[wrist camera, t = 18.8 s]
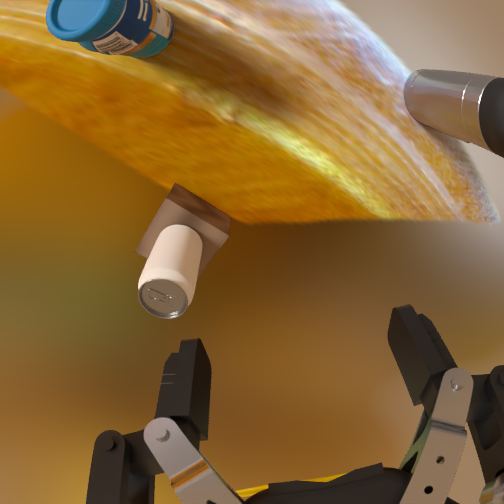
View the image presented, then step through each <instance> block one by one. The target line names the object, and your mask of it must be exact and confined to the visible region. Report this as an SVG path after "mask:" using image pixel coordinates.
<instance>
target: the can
mask: <svg viewBox="0 0 504 504" xmlns="http://www.w3.org/2000/svg"><path fill="white" fill-rule="evenodd" d="M201 254H202V240H201V238H200V236H199V235H198V234H197V232H196V231H194V230H193V229H192V228H190V227H188V226H185V225H171V226H168V227H166V228H165V229H164V230H163V231H162V232H161V233H160V235H159V236H158V238H157V240H156V243H155V245H154V247H153V249H152V251H151V253H150V256H149V258H148V260H147V262H146V265H145V267H144V269H143V272H142V274H141V277H140V279H139V283H138V288H139V292H138V298H139V301H140V304H141V305H142V306H143V308H144V309H145V310H146V311H147V312H149V313H150V314H152V315H154V316H157V317H160V318H166V319H170V318H175V317H178V316H180V315H182V314H183V313H184V312H185V311H186V309H187V307H188V305H189V304H190V303H191V301H192V298H193V295H194V291H195V285H196V280H197V275H198V270H199V264H200V259H201Z"/></svg>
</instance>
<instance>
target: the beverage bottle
mask: <svg viewBox="0 0 504 504" xmlns="http://www.w3.org/2000/svg"><path fill="white" fill-rule="evenodd" d="M46 23H47V27H48V29H49V31H50V32H51V33H52V34H53V35H54V36H55V37H57V38H58V39H61V40H65V41H72V42H78V43H79V44H80V45H81V46H83V47H84V48H86V49H88V50H90V51H94V52H99V53H102V54H107V55H124V56H131V57H135V58H147V57H151V56H153V55H156V54H157V53H159V52H161V51H162V50H163V49H164V48H165V47H166V46H167V45H168V44H169V42H170V41H171V39H172V37H173V34H174V28H175V26H174V20H173V18H172V16H171V14H170V13H169V12H168V11H167V10H165V9H164V8H162V7H161V6H160V5H159V4H158V3H157V2H156V1H155V0H50V3H49V5H48V8H47V13H46Z"/></svg>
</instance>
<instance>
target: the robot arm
mask: <svg viewBox="0 0 504 504" xmlns="http://www.w3.org/2000/svg"><path fill="white" fill-rule="evenodd" d="M404 99H405V104H406V106H407V109H408V111H409V112H410V114H411V115H412V116H413V118H414V119H416V120H417V121H418V122H420V123H422V124H425V125H428V126H430V127H432V128H433V129H434V130H437V131H440V132H442V133H445V134H447V135H450V136H452V137H455V138H457V139H459V140H462V141H464V142H467V143H470V142H471V143H473V144H476V145H478V146H480V147H482V148H485V149H487V150H489V151H491V152H493V153H495V154H497V155H499V156H501V157H503V158H504V78H501V77H495V76H489V75H481V74H474V73H466V72H456V71H444V70H428V69H421V70H417V71H416V72H414V73H412V74H411V75H410V76H409V78H408V80H407V82H406V84H405V89H404ZM388 342H389V346H390V348H391V350H392V352H393V355H394V357H395V360H396V362H397V364H398V367H399V369H400V371H401V374H402V376H403V379H404V381H405V384H406V386H407V389H408V391H409V394H410V397H411V399H412V402H413V404H414V406H416V405H419V404H423V406H424V411H423V413H422V416H421V419H420V422H419V424H418V427H417V430H416V432H415V435H414V438H413V440H412V443H411V445H410V447H409V450H408V451H407V453H406V455H405V457H404V458H403V460H402V462H401V464H400V467H399V469H396V468H387V467H383V466H382V463H378V464H375V465H371V466H368V467H364V468H360V469H356V470H353V471H351V472H349V473H347V474H345V475H343V476H341V477H338V478H336V479H334V480H332V481H329V482H311V481H289V482H280V483H270V484H268V485H269V488H268V489H265V490H262V491H260V492H258V493H256V494H254V495H252V496H251V497H249V498H248V499H247V500H245V501H244V500H243V499H242V498H241V497H240V496H239V495H238V494H237V493H236V492H235V490H234V489H233V488H232V487H231V486H230V485H229V484H228V483H227V482H226V481H225V480H224V479H223V478H222V477H221V476H220V475H219V473H218V472H217V471H216V470H215V469H214V467H213V466H212V465H211V464H210V463H209V462H208V460H207V459H206V458H205V457H204V455H203V454H202V453H201V452H200V451H199V443H200V441H201V440H202V441H203V440H208V424H209V423H208V422H209V406H210V390H211V374H212V373H211V372H212V371H211V363H210V360H209V357H208V355H207V353H206V350H205V348H204V346H203V343H202V341H201V339H200V338H196V339H185V340H182V341H181V344H180V350H179V353H171V355H170V356H169V358H168V360H167V361H166V362H165V366H164V371H163V376H162V381H161V383H162V384H161V386H160V392H159V397H158V403H157V409H156V414H155V417H154V420H152V421H151V422H150V423H149V424H148V425H147V426H146V428H145V429H143V430H141V431H138V432H134V433H130V434H126V435H121V434H120V433H119V432H117V431H114V430H108V431H105V432H103V433H101V434H100V435H99V436H98V437H97V439H96V441H95V445H94V451H93V456H92V462H91V469H90V476H89V484H88V491H87V499H86V504H154V490H155V475H156V474H160V473H164V472H165V473H166V475H167V476H168V478H169V479H170V481H171V486H172V488H173V490H174V492H175V493H176V494H177V496H178V497H179V498H180V500H181V501H182V502H183V504H459V503H457V502H456V501H454V500H452V499H450V498H449V497H447V495H448V493H449V491H450V488H451V485H452V483H453V480H454V477H455V474H456V471H457V468H458V465H459V462H460V459H461V456H462V453H463V449H464V445H465V442H466V438H467V431H466V430H465V428H464V427H465V423H466V422H467V423H468V426H469V429H470V432H471V435H472V438H473V441H474V444H475V447H476V451H477V454H478V457H479V460H480V464H481V468H482V472H483V476H484V479H485V484H486V485H485V487H484V488H483V490H482V492H481V496H480V499H479V502H480V504H504V365H500V366H496V367H495V368H494V369H493V370H492V371H491V373H490V374H484V375H470V373H468V372H467V371H466V370H464V369H462V368H458V367H457V365H456V363H455V362H454V360H453V358H452V356H451V354H450V352H449V351H448V349H447V347H446V345H445V343H444V342H443V340H442V339H441V336H440V335H439V333H438V332H437V330H436V328H435V326H434V325H433V323H432V321H431V320H429V319H428V318H427V317H426V316H424V315H423V314H419V315H417V313H416V312H415V310H414V308H413V307H412V306H411V305H410V304H408V305H404V306H400V307H396V308H393V310H392V314H391V319H390V324H389V328H388Z"/></svg>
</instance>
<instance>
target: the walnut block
mask: <svg viewBox="0 0 504 504" xmlns="http://www.w3.org/2000/svg"><path fill="white" fill-rule="evenodd" d="M230 223H231V217H230V216H228V215H226V214H225V213H223V212H222V211H220V210H218V209H217V208H215V207H214V206H212V205H210V204H209V203H207V202H205V201H204V200H202V199H201V198H199V197H197V196H196V195H194V194H192V193H191V192H189V191H188V190H186V189H184V188H183V187H181V186H179V185H178V184H176V183H175V184H174V186H173V187H172V189H171V190H170V192H169V194H168V195H167V197H166V199H165V200H164V202H163V204H162V205H161V207H160V209H159V211H158V212H157V214H156V216H155V217H154V219H153V221H152V223H151V224H150V226H149V228H148V230H147V231H146V233H145V235H144V237H143V238H142V240H141V242H140V244H139V246H138V248H137V250H136V252H137V253H138V254H140V255H142V256H144V257H145V258H147V259H148V258H149V256H150V253H151V251H152V249H153V247H154V245H155V243H156V240H157V238H158V236H159V235H160V233H161V232H162V231H163V230H164V229H165V228H166V227H168V226H171V225H185V226H188V227H190V228H192V229H193V230H194V231H196V232H197V234H198V235H199V236H200V238H201V240H202V254H201V259H200V264H199V270H198V275H197V278H198V277H199V275H200V274H201V273H202V271H203V270H204V269H205V267H206V266H207V265H208V264H209V262H210V261H211V260H212V258H213V257H214V256H215V254H216V253H217V252H218V251H219V249H220V248H221V247H222V245H223V244H224V243H225V241H226V240H227V239H228V238H229V236H230Z"/></svg>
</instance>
